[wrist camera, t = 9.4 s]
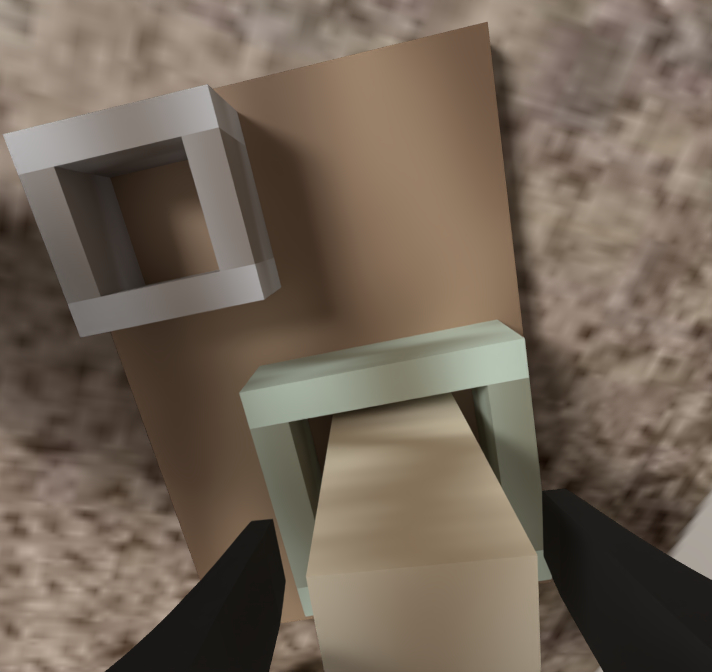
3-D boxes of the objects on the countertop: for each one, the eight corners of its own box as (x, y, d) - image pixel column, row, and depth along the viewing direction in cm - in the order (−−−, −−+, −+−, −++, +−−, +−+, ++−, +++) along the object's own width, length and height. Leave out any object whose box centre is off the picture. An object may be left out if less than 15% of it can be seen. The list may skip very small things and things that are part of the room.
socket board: (226, 611, 19) (196, 695, 15) (60, 138, 14) (-37, 109, 11) (541, 563, 18) (582, 641, 14) (478, 37, 13) (518, -30, 10)
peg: (350, 494, 16) (338, 742, 8) (335, 397, 15) (305, 577, 7) (455, 483, 16) (543, 727, 8) (447, 385, 15) (537, 555, 7)
